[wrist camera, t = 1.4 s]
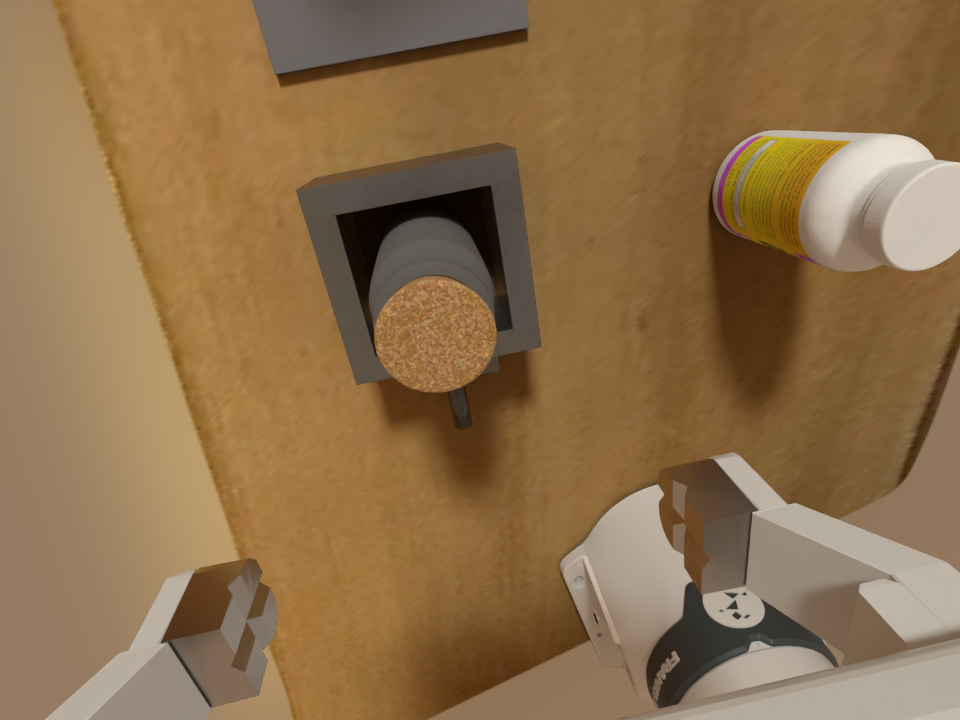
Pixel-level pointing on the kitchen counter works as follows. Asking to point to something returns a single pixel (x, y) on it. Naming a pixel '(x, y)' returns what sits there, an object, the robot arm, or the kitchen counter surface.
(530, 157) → the kitchen counter surface
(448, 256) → the bottle
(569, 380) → the kitchen counter surface
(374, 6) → the pad
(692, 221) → the kitchen counter surface
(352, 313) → the frame
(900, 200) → the supplement bottle
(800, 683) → the robot arm
